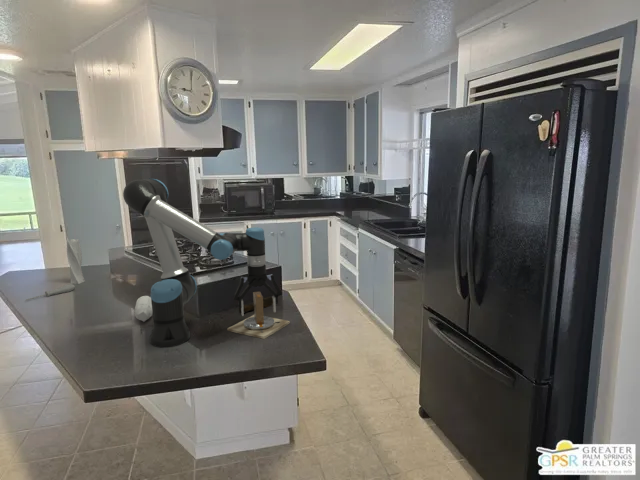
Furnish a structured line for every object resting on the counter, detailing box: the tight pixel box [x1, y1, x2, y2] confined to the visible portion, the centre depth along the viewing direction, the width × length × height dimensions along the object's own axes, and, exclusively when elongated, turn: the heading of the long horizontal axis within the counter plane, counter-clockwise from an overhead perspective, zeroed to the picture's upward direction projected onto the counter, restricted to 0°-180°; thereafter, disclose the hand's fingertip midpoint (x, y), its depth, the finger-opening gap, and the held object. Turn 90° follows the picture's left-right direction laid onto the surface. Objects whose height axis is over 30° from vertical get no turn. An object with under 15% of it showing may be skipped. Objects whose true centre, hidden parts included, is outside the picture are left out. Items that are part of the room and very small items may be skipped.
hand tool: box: [238, 296, 273, 314], centre depth 207 cm, size 19×4×5 cm, turn 130°
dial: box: [244, 291, 274, 330], centre depth 182 cm, size 13×13×14 cm
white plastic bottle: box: [133, 295, 153, 323], centre depth 196 cm, size 8×19×8 cm, turn 19°
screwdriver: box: [25, 283, 76, 301], centre depth 233 cm, size 5×25×4 cm, turn 144°
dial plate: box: [226, 314, 291, 340], centre depth 184 cm, size 19×19×1 cm
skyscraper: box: [66, 236, 86, 285], centre depth 256 cm, size 8×8×28 cm
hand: (258, 313), depth 183 cm, fingers open, 13 cm apart
